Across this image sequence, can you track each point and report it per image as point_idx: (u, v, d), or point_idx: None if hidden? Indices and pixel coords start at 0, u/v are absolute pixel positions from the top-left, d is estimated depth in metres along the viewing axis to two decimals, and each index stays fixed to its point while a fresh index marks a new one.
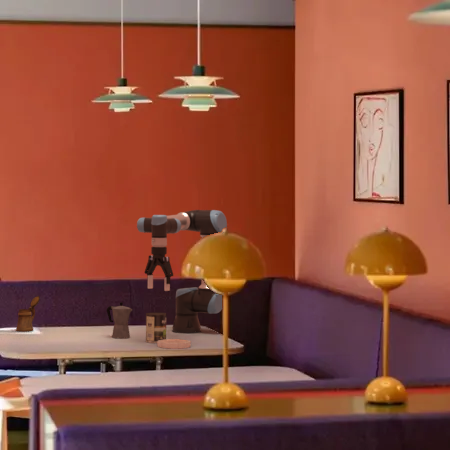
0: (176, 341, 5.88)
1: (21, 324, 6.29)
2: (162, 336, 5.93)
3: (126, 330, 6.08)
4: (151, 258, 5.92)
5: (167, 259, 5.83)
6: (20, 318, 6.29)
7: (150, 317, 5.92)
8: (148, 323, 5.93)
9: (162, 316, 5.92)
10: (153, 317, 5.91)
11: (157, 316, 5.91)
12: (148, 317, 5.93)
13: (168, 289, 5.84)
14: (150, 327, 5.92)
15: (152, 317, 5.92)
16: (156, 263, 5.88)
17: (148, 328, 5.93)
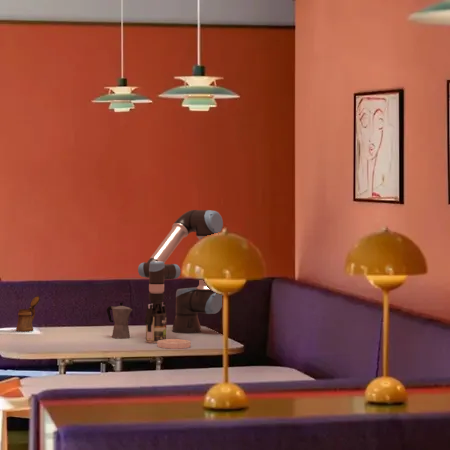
0: (176, 341, 5.88)
1: (21, 324, 6.29)
2: (162, 336, 5.93)
3: (126, 330, 6.08)
4: None
5: (148, 307, 5.90)
6: (20, 318, 6.29)
7: None
8: None
9: (162, 316, 5.92)
10: (153, 317, 5.91)
11: (157, 316, 5.91)
12: None
13: (150, 337, 5.91)
14: None
15: None
16: None
17: None
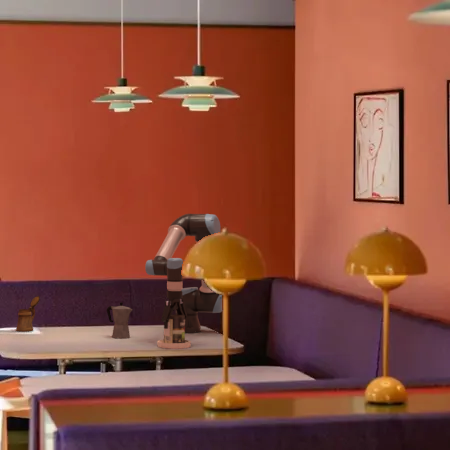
0: None
1: (21, 324, 6.29)
2: (181, 339, 5.78)
3: (126, 330, 6.08)
4: None
5: (166, 303, 5.74)
6: (20, 318, 6.29)
7: None
8: None
9: (181, 318, 5.77)
10: (171, 319, 5.76)
11: (176, 318, 5.76)
12: None
13: (167, 334, 5.74)
14: None
15: (170, 319, 5.76)
16: None
17: None
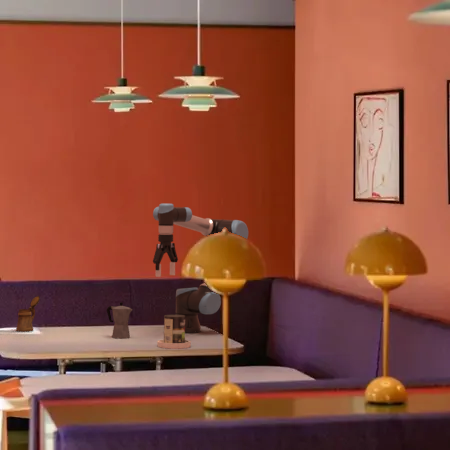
0: None
1: (21, 324, 6.29)
2: (181, 339, 5.78)
3: (126, 330, 6.08)
4: None
5: (158, 246, 6.02)
6: (20, 318, 6.29)
7: (168, 319, 5.77)
8: (166, 325, 5.78)
9: (181, 318, 5.77)
10: (171, 319, 5.76)
11: (176, 318, 5.76)
12: (166, 319, 5.78)
13: (158, 275, 6.02)
14: (168, 329, 5.77)
15: (170, 319, 5.76)
16: None
17: (166, 331, 5.78)
